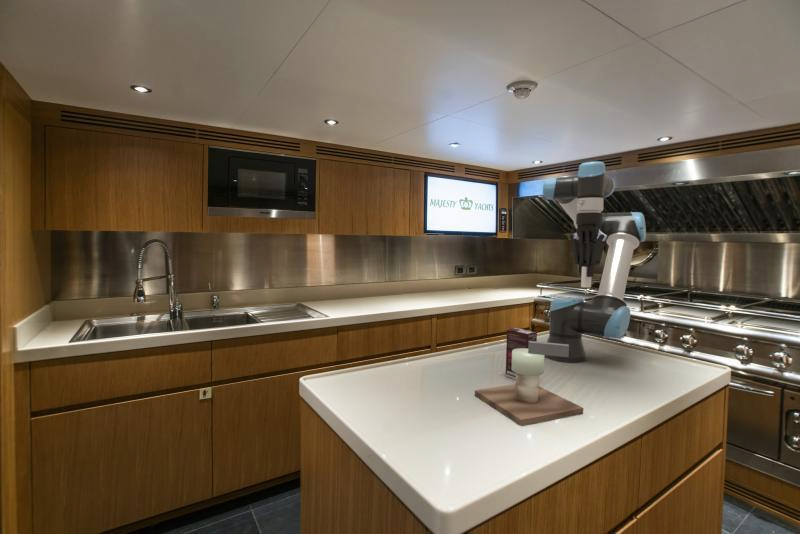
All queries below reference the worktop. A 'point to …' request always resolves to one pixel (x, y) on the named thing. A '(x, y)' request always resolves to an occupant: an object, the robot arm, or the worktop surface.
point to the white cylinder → (536, 357)
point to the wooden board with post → (528, 401)
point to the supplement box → (517, 345)
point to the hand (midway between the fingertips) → (585, 287)
